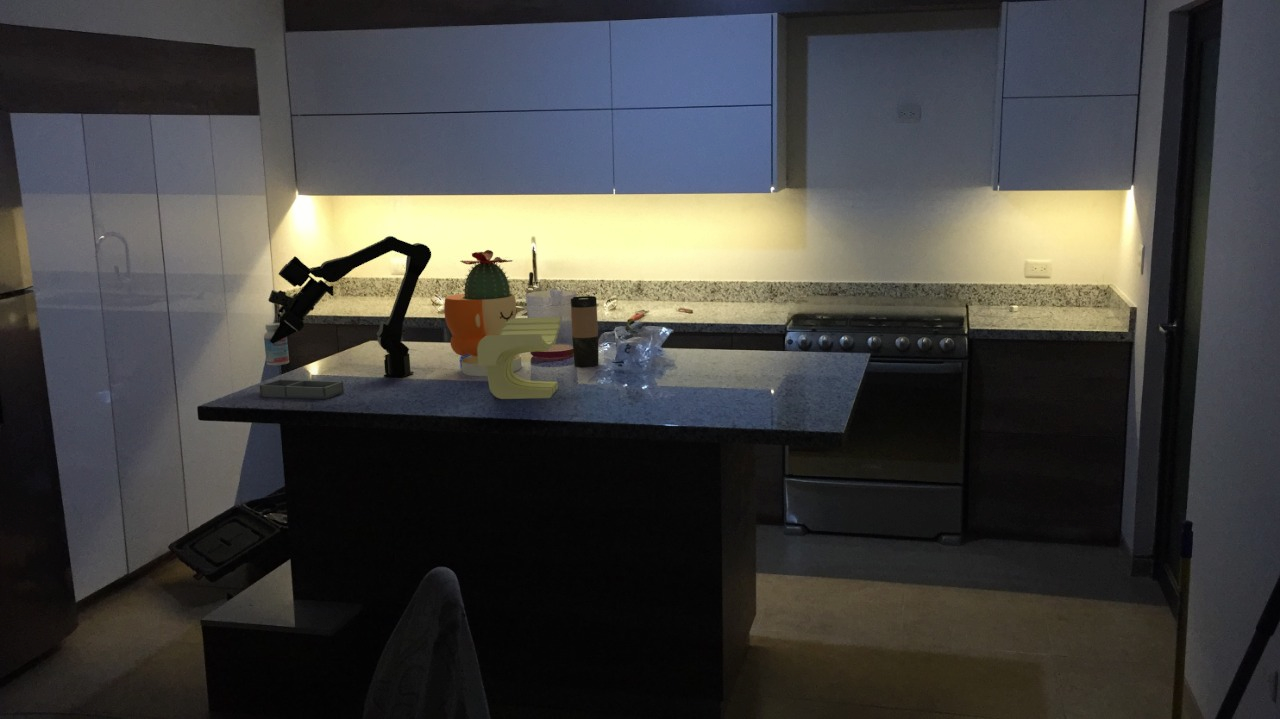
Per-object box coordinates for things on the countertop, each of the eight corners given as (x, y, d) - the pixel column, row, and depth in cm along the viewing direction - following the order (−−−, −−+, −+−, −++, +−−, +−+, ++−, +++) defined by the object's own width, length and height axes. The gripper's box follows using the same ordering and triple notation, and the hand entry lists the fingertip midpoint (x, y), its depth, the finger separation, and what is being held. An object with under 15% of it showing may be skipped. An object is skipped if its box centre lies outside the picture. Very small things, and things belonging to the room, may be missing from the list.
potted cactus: (529, 362, 333) (523, 246, 326) (508, 376, 311) (501, 252, 305) (461, 362, 336) (454, 248, 330) (436, 376, 315) (427, 254, 309)
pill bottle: (277, 366, 302) (273, 325, 300) (262, 365, 305) (257, 325, 303) (294, 362, 307) (290, 322, 305) (278, 361, 310) (274, 322, 308)
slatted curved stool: (506, 382, 302) (502, 318, 299) (563, 381, 301) (560, 317, 298) (480, 406, 273) (476, 335, 270) (544, 405, 271) (540, 334, 268)
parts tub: (343, 392, 296) (342, 381, 296) (325, 399, 288) (324, 387, 288) (280, 390, 303) (279, 379, 302) (260, 396, 295) (259, 385, 295)
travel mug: (604, 364, 324) (601, 297, 320) (582, 368, 319) (579, 299, 316) (590, 361, 330) (587, 295, 326) (568, 364, 326) (565, 297, 322)
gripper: (282, 276, 312) (245, 318, 310) (286, 282, 295) (247, 326, 293) (314, 301, 316) (277, 343, 314) (319, 308, 299) (281, 352, 297)
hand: (270, 340), depth 305 cm, fingers closed on pill bottle, 6 cm apart
